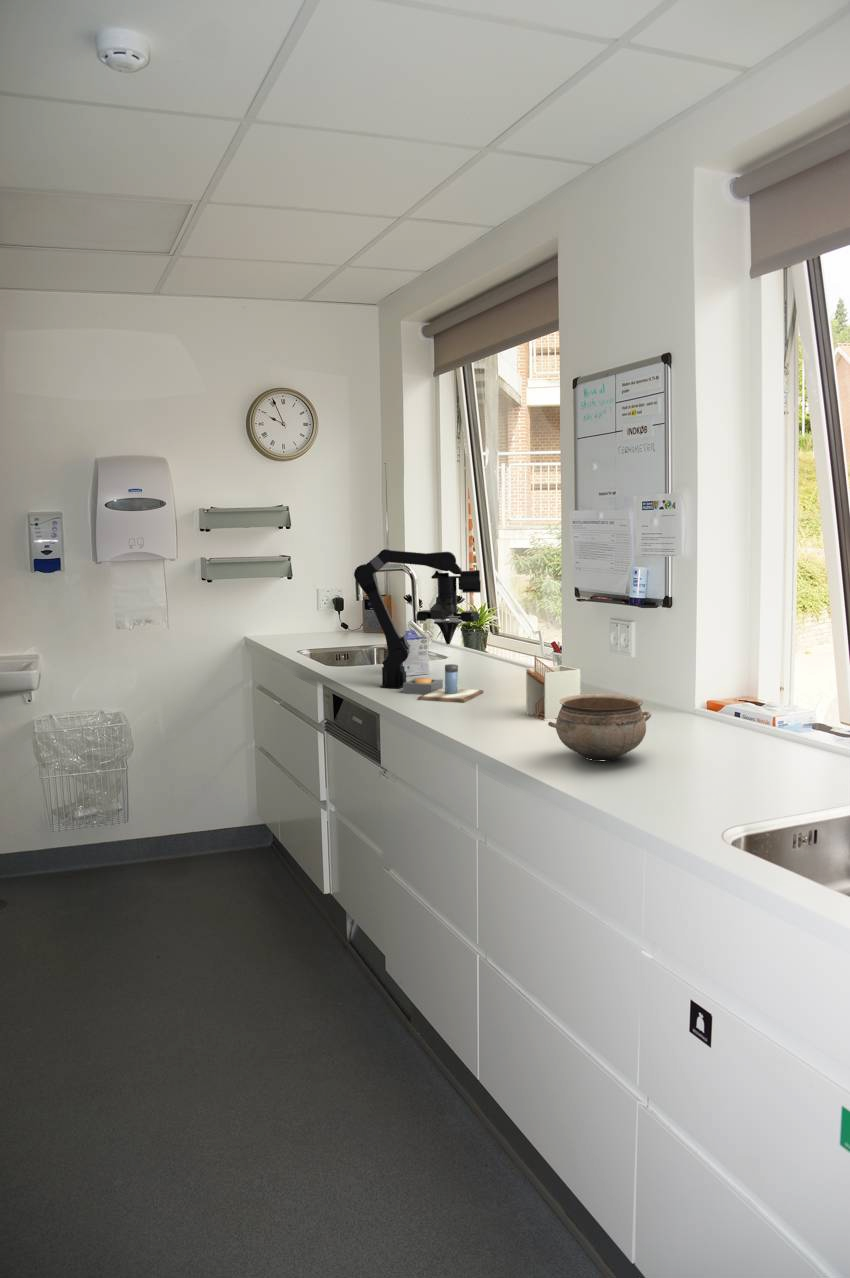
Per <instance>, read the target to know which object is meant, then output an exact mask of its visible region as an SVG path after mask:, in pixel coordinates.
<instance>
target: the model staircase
mask: <svg viewBox="0 0 850 1278" xmlns="http://www.w3.org/2000/svg"><path fill="white" fill-rule="evenodd" d="M525 674H526V675H525V676H526V678H525V681H526V682H525V683H526V684H525V693H526V694H525V696H526V697H525V700H526V701H525V702H526V703H525V704H526V705H525V706H526V707H525V708H526V709H525V710H526V711H525V713H526V714H527V715H526V716H529V715H528V714H531V715H535V716H534V717H538V718H537V719H539V718H541V719H540V720H543V719H545V720H546V719H553V720H556V719H555V718H557V717H558V714H559V712H560V709H561V707H562V704H560V702H559V701H560V699H562V698H565V697H568V696H574V695H581V669H580V668H574V667H569V666H565V665H561V664H560V665H552V666H548V665H546V663H543V661H541V660H540V659H538V658H537V654H536V655H535V654H534V667H531V668H526V669H525ZM537 713H538V714H537ZM541 716H542V717H541ZM545 720H544V721H545ZM546 721H547V720H546Z"/></svg>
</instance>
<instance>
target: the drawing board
mask: <svg viewBox="0 0 850 1278" xmlns="http://www.w3.org/2000/svg"><path fill="white" fill-rule="evenodd" d="M482 694H484V689H483V690H482V689H467V688H457V693H456V694H446V693H445V687H443V688H440V689H437V690H435V691H433V692H429V693H426V694H421V695H420V696H418V697H417V699H418V701H431V702H433V701H434V702H447V703H449V702H450V703H467V702H468V701H470V700H472V699H474V698H477V697H478V696H481V695H482Z"/></svg>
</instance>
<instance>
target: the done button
mask: <svg viewBox="0 0 850 1278" xmlns="http://www.w3.org/2000/svg"><path fill="white" fill-rule="evenodd" d="M414 679H415V683H425V684H429V683H431V679H432V678H431V677H417V678H414Z"/></svg>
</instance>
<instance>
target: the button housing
mask: <svg viewBox="0 0 850 1278" xmlns="http://www.w3.org/2000/svg"><path fill="white" fill-rule="evenodd" d="M415 679H416V678H413V679H410V680H407V681H406V682H405V683H403V687H402V690H403V691H402V692H403V694H409V695H410V694H413V695H424V694H426V693H429V692H433V691H435V690H437V689H440V688H444V687H443V686H444V684H443V683H444V682H443V679H432V678H431V683H429V684H425V683H415Z"/></svg>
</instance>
